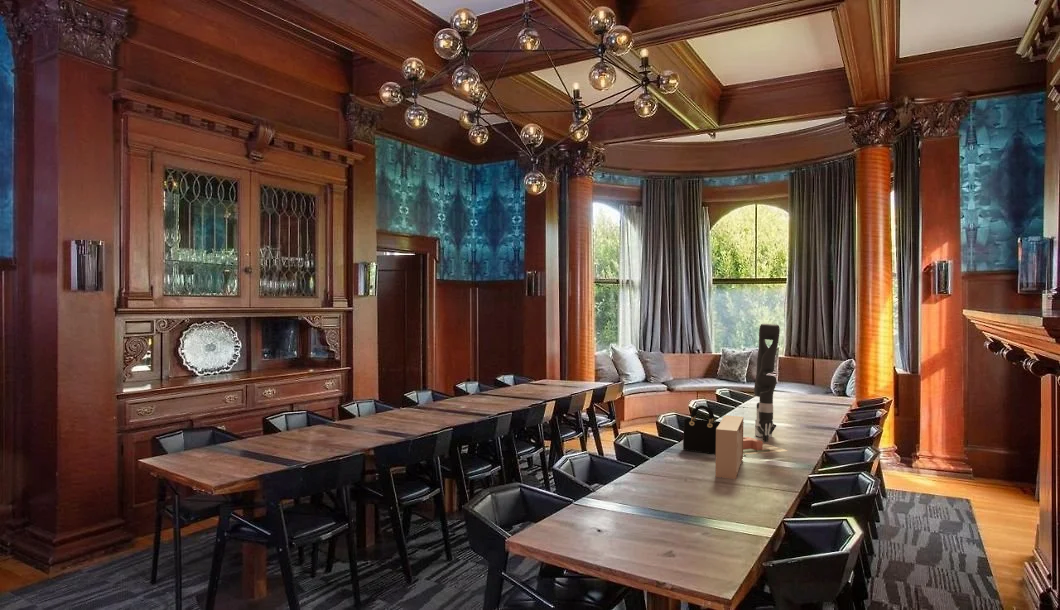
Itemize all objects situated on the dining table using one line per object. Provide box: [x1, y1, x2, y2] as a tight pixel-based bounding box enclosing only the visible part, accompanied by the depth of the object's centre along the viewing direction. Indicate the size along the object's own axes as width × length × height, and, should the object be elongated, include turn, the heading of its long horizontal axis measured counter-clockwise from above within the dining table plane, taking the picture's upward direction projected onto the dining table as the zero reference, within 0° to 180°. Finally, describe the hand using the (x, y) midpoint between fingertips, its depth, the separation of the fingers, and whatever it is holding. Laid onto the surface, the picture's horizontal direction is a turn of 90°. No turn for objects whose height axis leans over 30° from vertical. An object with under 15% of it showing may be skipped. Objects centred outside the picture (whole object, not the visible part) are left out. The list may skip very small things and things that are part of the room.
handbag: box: [682, 405, 721, 455], centre depth 350 cm, size 21×9×25 cm, turn 58°
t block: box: [743, 436, 764, 450], centre depth 352 cm, size 12×11×5 cm
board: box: [743, 442, 789, 457], centre depth 354 cm, size 24×28×2 cm
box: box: [714, 414, 745, 480], centre depth 315 cm, size 10×40×22 cm, turn 157°
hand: (765, 441), depth 356 cm, fingers closed
